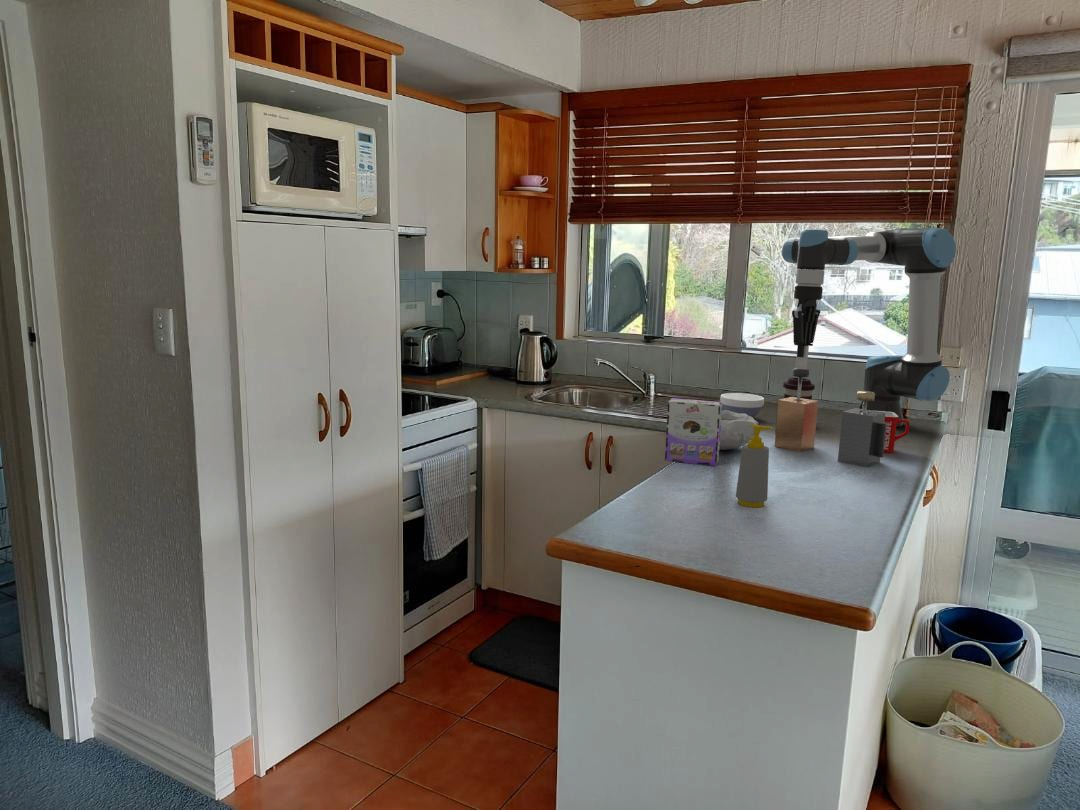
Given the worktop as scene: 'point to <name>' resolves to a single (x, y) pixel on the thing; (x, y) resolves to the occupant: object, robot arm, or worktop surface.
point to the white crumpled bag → (735, 430)
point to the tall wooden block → (796, 423)
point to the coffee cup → (792, 388)
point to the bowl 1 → (742, 403)
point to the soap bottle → (753, 471)
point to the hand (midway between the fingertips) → (801, 368)
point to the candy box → (693, 431)
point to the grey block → (862, 437)
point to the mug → (892, 430)
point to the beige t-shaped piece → (865, 398)
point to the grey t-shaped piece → (800, 379)
